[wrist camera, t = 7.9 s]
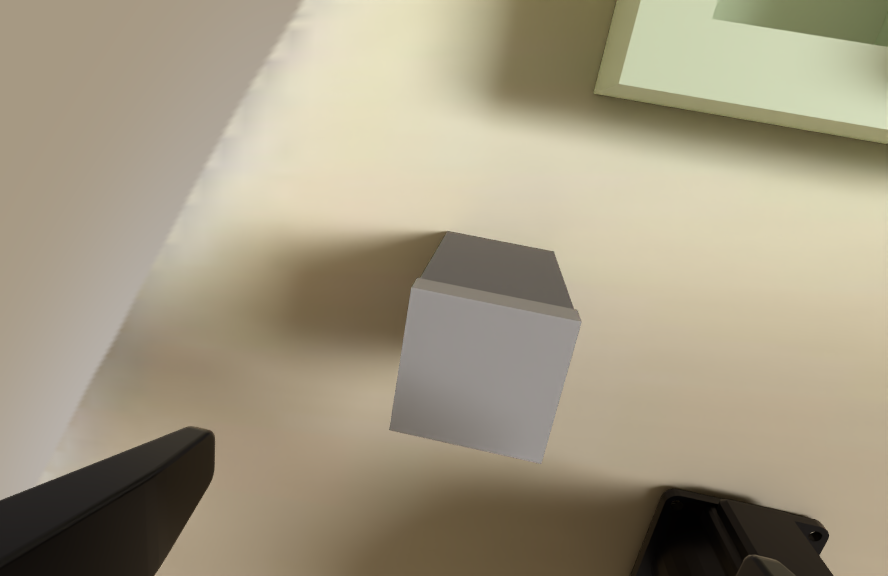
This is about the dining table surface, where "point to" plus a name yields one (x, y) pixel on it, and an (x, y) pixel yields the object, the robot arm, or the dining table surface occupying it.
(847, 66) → the socket block
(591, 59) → the dining table surface
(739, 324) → the dining table surface
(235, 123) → the dining table surface
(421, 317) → the plug
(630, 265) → the dining table surface
